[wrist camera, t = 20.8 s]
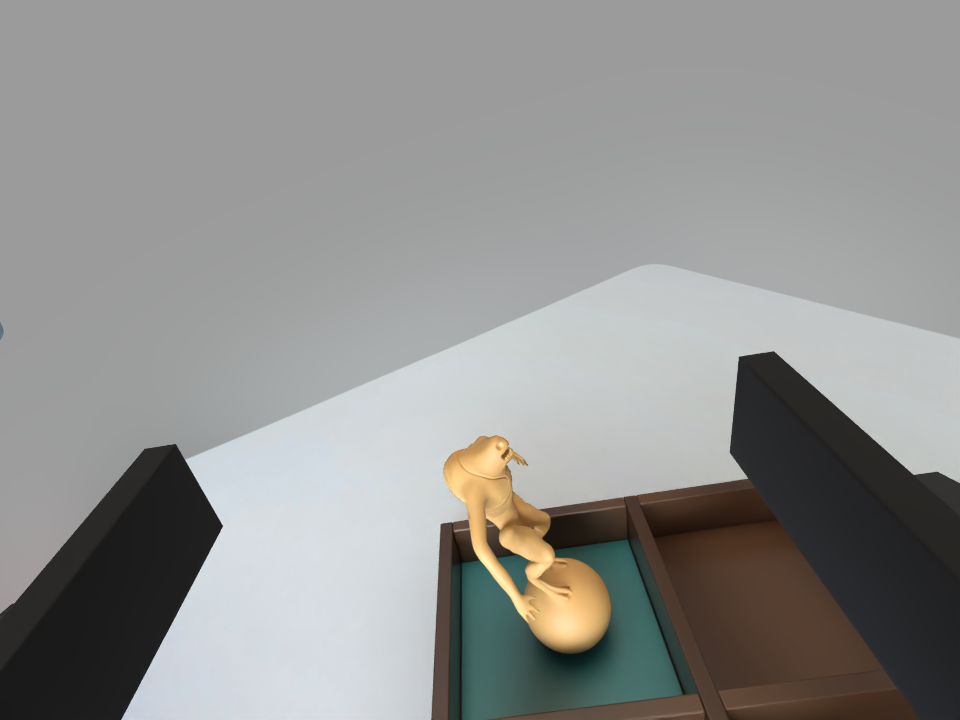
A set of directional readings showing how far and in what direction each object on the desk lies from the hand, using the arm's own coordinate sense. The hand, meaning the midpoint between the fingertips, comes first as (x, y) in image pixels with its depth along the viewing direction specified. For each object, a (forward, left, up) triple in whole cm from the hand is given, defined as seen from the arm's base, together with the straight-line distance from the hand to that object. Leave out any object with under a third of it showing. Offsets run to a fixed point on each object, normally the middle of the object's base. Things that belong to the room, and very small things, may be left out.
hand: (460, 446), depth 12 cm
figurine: (+1, +6, -16) cm, 17 cm away
